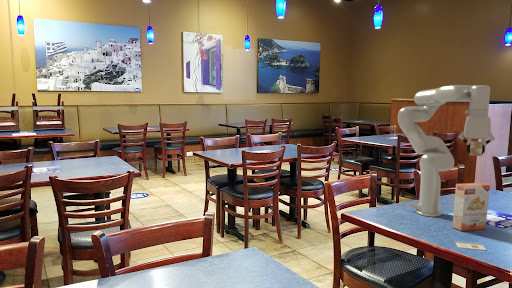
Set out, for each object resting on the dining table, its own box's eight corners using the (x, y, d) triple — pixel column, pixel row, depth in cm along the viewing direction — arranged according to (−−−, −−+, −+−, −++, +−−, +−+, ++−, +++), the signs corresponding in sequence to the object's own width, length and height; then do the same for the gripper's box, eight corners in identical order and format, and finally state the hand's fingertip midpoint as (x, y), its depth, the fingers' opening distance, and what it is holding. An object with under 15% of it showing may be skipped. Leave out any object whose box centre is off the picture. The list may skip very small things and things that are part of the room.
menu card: (458, 247, 154) (458, 246, 154) (454, 241, 161) (454, 240, 161) (486, 250, 152) (486, 249, 152) (481, 244, 158) (481, 243, 158)
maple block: (469, 155, 172) (471, 142, 172) (468, 154, 176) (469, 141, 176) (481, 156, 170) (482, 142, 170) (480, 154, 175) (481, 141, 174)
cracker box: (461, 232, 173) (465, 186, 170) (451, 227, 179) (454, 183, 176) (486, 229, 176) (490, 184, 174) (476, 225, 182) (479, 182, 180)
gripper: (457, 113, 171) (454, 153, 173) (502, 114, 164) (498, 156, 167) (456, 112, 178) (453, 151, 180) (499, 113, 171) (495, 154, 173)
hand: (475, 153), depth 173 cm, fingers closed on maple block, 4 cm apart
